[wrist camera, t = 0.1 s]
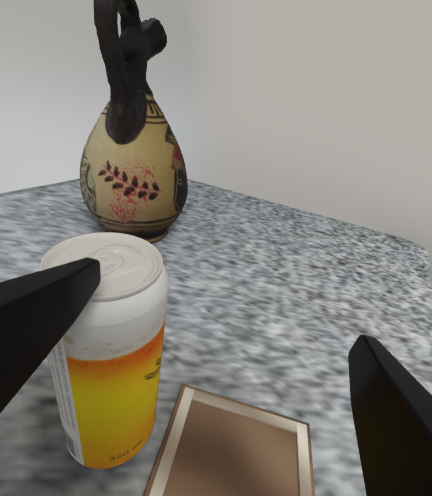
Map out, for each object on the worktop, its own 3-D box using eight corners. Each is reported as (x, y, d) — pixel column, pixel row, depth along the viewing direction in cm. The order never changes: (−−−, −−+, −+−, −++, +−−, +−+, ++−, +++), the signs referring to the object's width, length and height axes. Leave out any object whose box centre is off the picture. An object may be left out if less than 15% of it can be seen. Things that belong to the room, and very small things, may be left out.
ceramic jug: (118, 204, 53) (115, 4, 38) (193, 224, 51) (222, 22, 36) (52, 243, 38) (5, -56, 23) (154, 274, 36) (174, -31, 21)
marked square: (326, 656, 13) (329, 655, 13) (117, 574, 14) (117, 572, 14) (307, 425, 23) (310, 422, 23) (182, 386, 24) (183, 382, 24)
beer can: (170, 420, 21) (196, 263, 14) (101, 499, 17) (82, 330, 9) (120, 372, 24) (118, 219, 16) (49, 429, 19) (0, 253, 12)
